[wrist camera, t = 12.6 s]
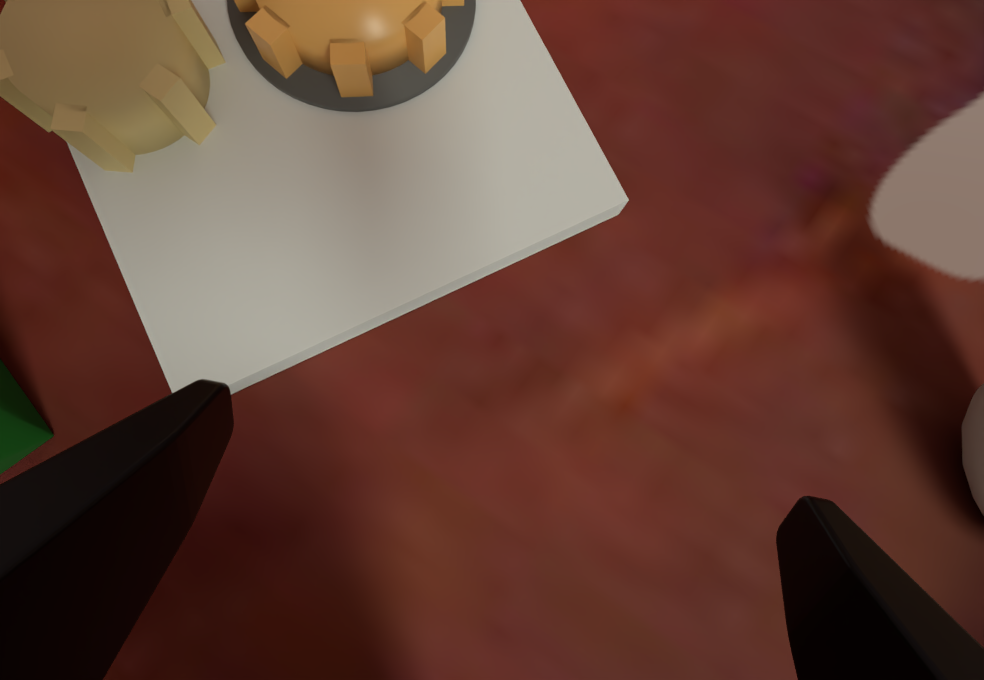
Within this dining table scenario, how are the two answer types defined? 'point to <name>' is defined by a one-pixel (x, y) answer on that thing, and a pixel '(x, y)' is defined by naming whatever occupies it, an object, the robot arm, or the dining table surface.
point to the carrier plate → (300, 171)
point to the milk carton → (18, 422)
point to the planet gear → (348, 36)
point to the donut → (974, 446)
